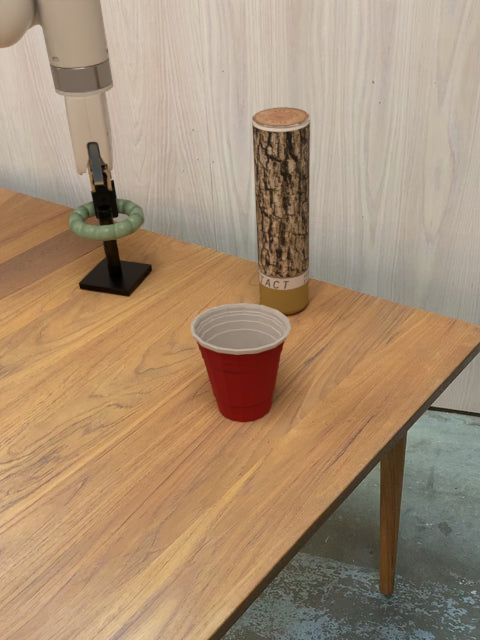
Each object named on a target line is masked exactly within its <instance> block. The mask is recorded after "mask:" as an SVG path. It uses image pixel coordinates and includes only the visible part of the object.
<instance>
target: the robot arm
mask: <svg viewBox="0 0 480 640" xmlns="http://www.w3.org/2000/svg"><path fill="white" fill-rule="evenodd" d="M35 26H40V27H41V29H42V33H43V39H44V43H45V49H46V53H47V58H48V62H49V67H50V72H51V77H52V81H53V82H52V83H53V87H54V92H55V93H56V94H58V95H60V96H63V97H64V106H65V112H66V119H67V124H68V131H69V135H70V136H69V137H70V139H71V146H72V152H73V157H74V162H75V168H76V173H77V174H78V175H79V176H83V174H86V173H87V172H88V177H89V183H90V188H91V190H90V194H91V198H92V200H91V201H93V205H94V210H95V215H96V216H95V218H96V220H99V219H98V214H97V207H98V206H101V205H109V206H111V210H112V215H113V219H117V218H118V217H119V213H118V208H117V202H116V198H117V199H118V196H117V192H116V191H117V190H116V186H115V180H114V179H113V176H112V171H113V170H114V169H113V168H114V167H113V166H114V161H113V160H114V159H113V158H114V157H113V156H114V154H113V151H114V150H113V136H112V127H111V120H110V114H109V113H110V111H109V107H108V99H107V94H106V92H108V91H111V89H113V88H114V81H113V80H114V79H113V73H112V67H111V66H112V65H111V60H110V54H109V49H108V41H107V37H106V36H107V35H106V30H105V23H104V17H103V11H102V3H101V0H0V49H5V48H6V49H7V48H9V47H12V46H14V45H16V44H17V43H18V42H19V41H20V40H21V39H22V38H23V37H24V36H25V35H26V34H27V31H28V30H30V29H32V28H34V27H35Z"/></svg>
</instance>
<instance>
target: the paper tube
mask: <svg viewBox="0 0 480 640" xmlns="http://www.w3.org/2000/svg"><path fill="white" fill-rule="evenodd" d="M310 117H311V115H310V113H308V112H307V111H306V110H303V109H299V108H296V107H287V106H285V107H284V106H282V107H281V106H280V107H269V108H266V109H262V110H259V111H257V112H256V113H254V114H253V116H252V117H251V118H252V122H251V125H252V127H251V128H252V151H253V152H252V153H253V174H254V196H255V197H254V198H255V199H254V200H255V221H256V245H257V246H256V247H257V249H256V250H257V270H258V287H259V288H258V290H259V291H258V292H259V293H258V294H259V303H260V305H264V306H267V307H270V308H273V309H276V310H278V311H279V312H281V313H282V314H283V315H285V316H287V315H288V316H289V315H295V314H297V313H298V312H301V311H303V310H304V309H305V308H306V307H307V305H308V303H309V298H310V297H309V295H310V294H309V289H310V286H309V285H310V284H309V283H310V281H309V280H310V279H309V278H310V186H311V185H310V183H311V181H310V178H311V177H310V175H311V172H310V171H311V169H310V165H311V164H310V162H311V157H310V155H311V119H310Z"/></svg>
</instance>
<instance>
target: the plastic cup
mask: <svg viewBox="0 0 480 640" xmlns="http://www.w3.org/2000/svg"><path fill="white" fill-rule="evenodd" d="M291 329H292V325H291V321H290V320H289V317H287V315H283V314H282V313H281V312H279V311H278V310H276V309H273V308H270V307H267V306H264V305H261V304H256V303H249V302H248V303H247V302H238V303H237V302H236V303H225V304H221V305H217V306H214V307H210V308H207V309H205V310H204V311H202V312H201V313H198V314H197V315H195V317H194V318H193V320H192V321H191V323H190V332H191V336H192V339H193V340H195V342H196V344H197V346H198V349H199V351H200V354H201V358H202V359H203V363H204V366H205V370H206V372H207V377H208V380H209V383H210V387H211V389H212V390H211V391H212V394H213V396H214V398H215V401H216V405H217V407H218V411H219V413H220V414H221V415H222V417H224V419H227V420H229V421H232V422H236V423H250V422H255V421H257V420H260V419H263V418H264V417H265V416H266V415H268V414H269V413H270V410H271V408H272V404H273V403H272V402H273V397H274V391H275V389H276V384H277V377H278V372H279V368H280V362H281V361H280V360H281V355H282V352H283V349H284V345H285V342H286V341H287V338H288V337H289V334H290V332H291Z"/></svg>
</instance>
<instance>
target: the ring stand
mask: <svg viewBox="0 0 480 640" xmlns="http://www.w3.org/2000/svg"><path fill="white" fill-rule="evenodd" d="M97 214H98V219H97V220H98V224H99V225H98V226H103V225H112V224H115V222H114V218H113V215H112V210H111V206H109V205H101V206H98V207H97ZM102 247H103V251H104V256H105V257H103V258H102V259H101V260H100V261H99V262H98V263H97V264H96V265H95V266H94V267H93V268H92V269H91V270H90V271H89V272H88V273H87V274H86V275H85V276H84V277H83V278H82V279H81V280H80V281H79V282H78V287H79V290H84V291H90V292H98V293H104V294H111V295H117V296H124V297H131V295H132V294H133V293H134V292H135V291H136V289H137V288H138V287H139V286H140V285H141V284H142V283H143V281H145V280H146V278H147V277H148V276H149V275H150V274H151V272H153V264H151V263H146V262H145V263H144V262H137V261H129V260H124V259H121V257H120V251H119V245H118V239H117V240H108V241H102Z"/></svg>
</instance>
